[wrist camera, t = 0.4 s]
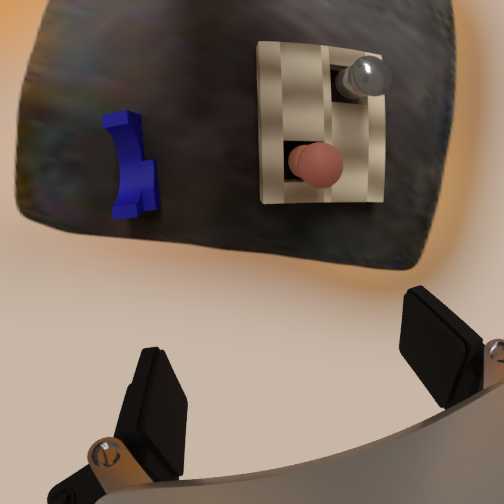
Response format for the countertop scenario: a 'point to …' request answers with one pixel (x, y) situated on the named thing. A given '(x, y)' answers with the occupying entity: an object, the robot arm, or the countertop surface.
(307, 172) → the red plug
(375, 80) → the grey plug
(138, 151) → the cable clip
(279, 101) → the board
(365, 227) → the countertop surface
